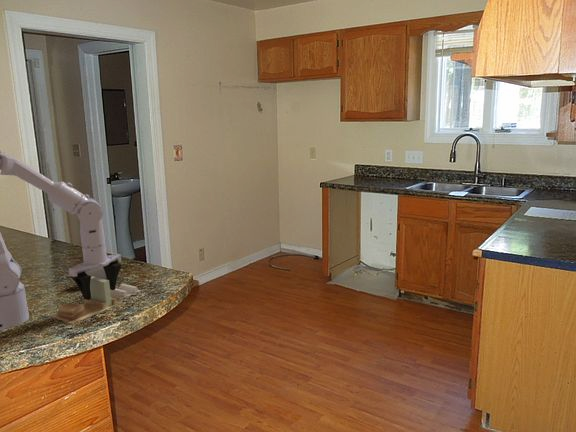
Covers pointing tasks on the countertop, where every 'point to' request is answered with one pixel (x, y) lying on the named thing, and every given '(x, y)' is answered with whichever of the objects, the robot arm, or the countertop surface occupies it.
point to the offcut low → (72, 317)
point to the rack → (91, 309)
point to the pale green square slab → (100, 290)
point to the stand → (124, 291)
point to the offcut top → (71, 309)
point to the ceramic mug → (97, 273)
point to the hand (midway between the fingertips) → (99, 294)
